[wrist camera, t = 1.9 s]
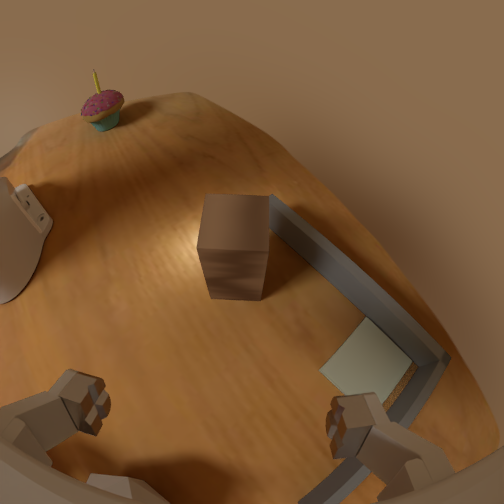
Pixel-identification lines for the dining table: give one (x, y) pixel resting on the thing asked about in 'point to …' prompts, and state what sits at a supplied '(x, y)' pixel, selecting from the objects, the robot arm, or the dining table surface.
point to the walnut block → (234, 245)
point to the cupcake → (102, 108)
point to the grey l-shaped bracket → (364, 344)
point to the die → (127, 488)
